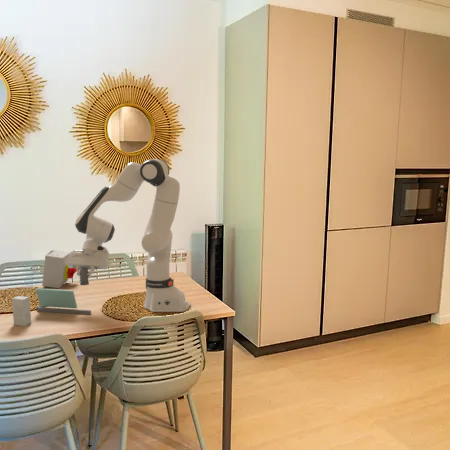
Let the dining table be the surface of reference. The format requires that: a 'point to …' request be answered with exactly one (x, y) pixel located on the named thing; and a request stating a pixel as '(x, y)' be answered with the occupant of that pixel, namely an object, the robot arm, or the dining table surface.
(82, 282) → the plug
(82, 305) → the dining table surface
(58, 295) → the cover
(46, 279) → the electrical switch box
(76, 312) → the grey flat board
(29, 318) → the skincare box
